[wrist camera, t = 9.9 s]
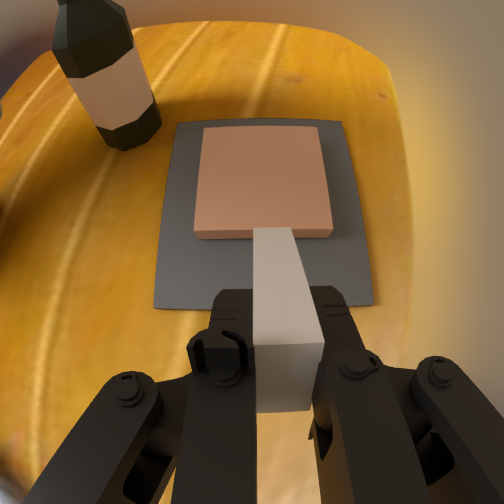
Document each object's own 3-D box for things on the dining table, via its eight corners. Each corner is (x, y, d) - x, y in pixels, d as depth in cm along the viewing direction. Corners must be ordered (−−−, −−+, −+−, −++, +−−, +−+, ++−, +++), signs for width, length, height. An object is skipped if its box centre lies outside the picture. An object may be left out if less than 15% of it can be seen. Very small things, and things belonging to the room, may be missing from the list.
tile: (333, 229, 24) (316, 126, 28) (193, 230, 24) (204, 128, 28) (327, 239, 26) (313, 141, 30) (198, 240, 27) (207, 142, 30)
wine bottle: (97, 153, 32) (-9, -32, 3) (117, 110, 34) (45, -59, 6) (154, 148, 31) (65, -83, 3) (169, 103, 34) (115, -93, 6)
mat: (370, 305, 25) (373, 304, 24) (156, 308, 25) (153, 307, 25) (339, 125, 32) (341, 121, 31) (179, 127, 32) (177, 123, 32)
